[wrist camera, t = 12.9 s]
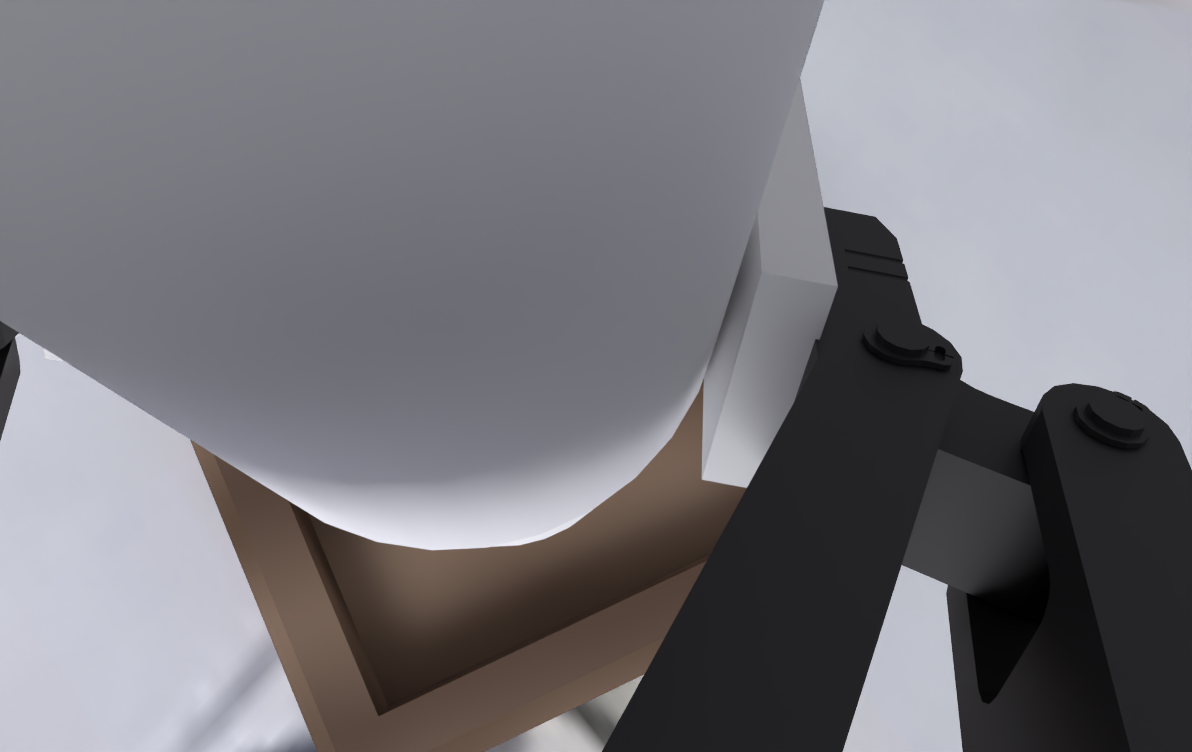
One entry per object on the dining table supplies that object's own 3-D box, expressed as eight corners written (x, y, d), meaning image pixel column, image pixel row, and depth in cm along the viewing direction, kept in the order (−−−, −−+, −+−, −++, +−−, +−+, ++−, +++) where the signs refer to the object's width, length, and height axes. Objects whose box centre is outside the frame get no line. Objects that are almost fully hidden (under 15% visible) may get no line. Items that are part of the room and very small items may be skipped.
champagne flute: (642, 285, 27) (1413, -1864, 3) (630, 554, 25) (1712, 675, 2) (374, 269, 26) (-1189, -2210, 3) (351, 540, 25) (-2675, 464, 2)
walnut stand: (870, 557, 28) (905, 558, 26) (353, 806, 27) (331, 837, 24) (636, 77, 30) (644, 30, 28) (139, 284, 29) (96, 256, 26)
